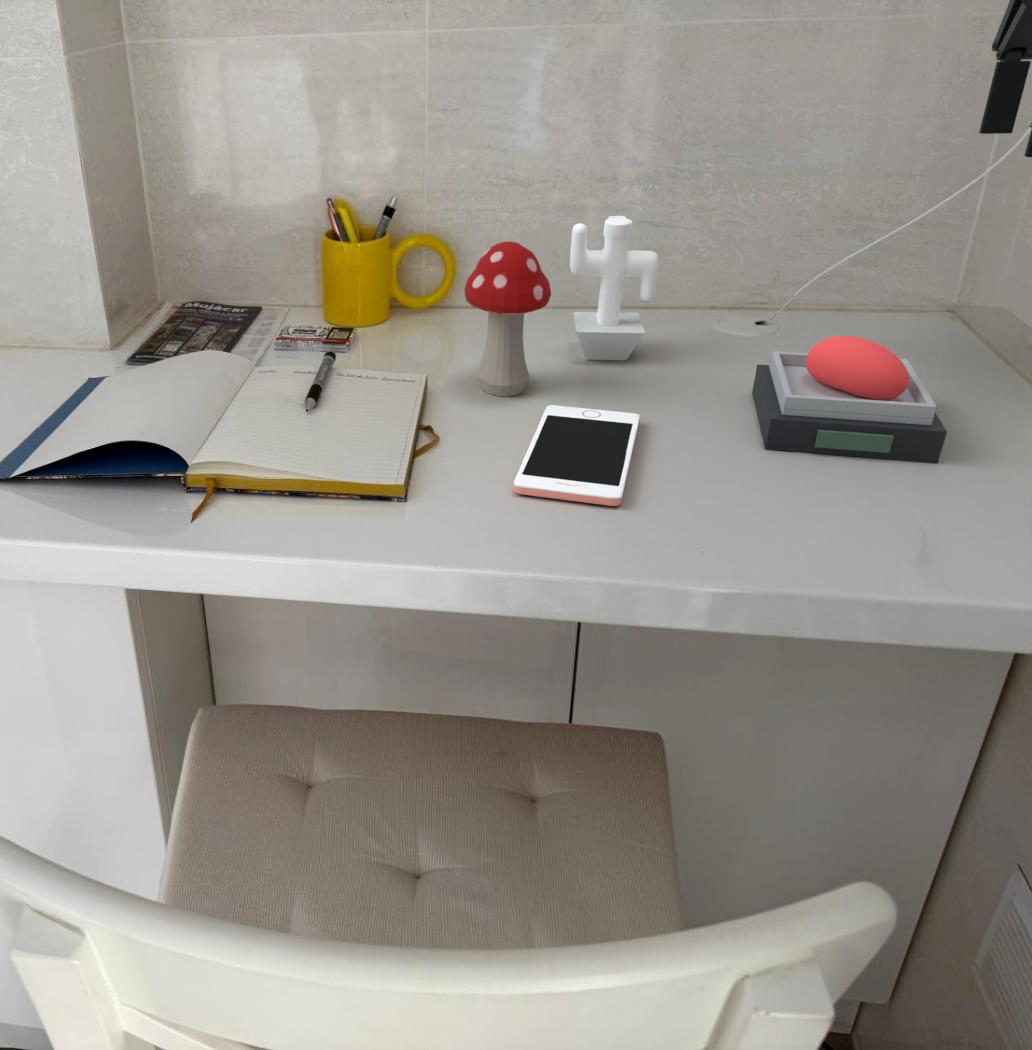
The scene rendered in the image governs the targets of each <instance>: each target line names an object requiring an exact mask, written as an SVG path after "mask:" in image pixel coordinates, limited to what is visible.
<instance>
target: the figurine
mask: <svg viewBox="0 0 1032 1050" xmlns="http://www.w3.org/2000/svg"><path fill="white" fill-rule="evenodd" d="M603 224H604V225H603V237H604V242H603V247H602V248H601V249H595V250H594V249H593V250H592V249H588V243H587V242H588V227H587V225H586V224H585V223H576V224H574V225H573V227H572V229H571V239H570V250H569V252H570V253H569V269H570V271H571V273H572V275H574V276H576V277H598V278H600V282H599V284H600V285H599V293H598V301H597V311H572V315H573V321H574V325H575V333H576V335H577V337H578V341H579V344H580V346H581V349H582V352H583V355H584V358H585V360H586V361H627V360H628V359H629V358H630V355H631V354H632V353H633V351H634V350H635V348H636V347H637V345H638V344H639V343H640V341H641V340H642V339H643V338H644V335H645V334H646V332H645V328H644V327H643V324H642V321H641V318H640V315H639V313H638V312H621V309H622V301H623V291H624V284H625V283H624V282H625V278H627V277H629V278H630V277H631V278H640V288H639V298H640V300H641V301H643V302H649V303H650V302H652V301H654V299H655V297H656V294H657V293H656V292H657V286H658V285H657V284H658V279H659V268H660V260H659V259H660V258H659V256H658V255H659V254H657V252H655V251H653V250H642V249H641V250H640V249H639V250H633V249H631V250H630V249H628V246H629V239H630V237H631V236H632V229H633V220H632V219H630V218H627V216H624V215H609V216H608V217H607V218H606V219H605V220H604V223H603Z"/></svg>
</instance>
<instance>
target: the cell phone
mask: <svg viewBox="0 0 1032 1050" xmlns="http://www.w3.org/2000/svg"><path fill="white" fill-rule="evenodd" d="M640 419H641V415H640V414H639V413H635V412H628V411H627V412H626V411H618V410H617V411H616V410H606V409H605V410H604V409H596V408H587V407H583V408H582V407H576V406H565V405H557V404H556V405H554V404H550V405H547V406H546V408H545V409H544V412H543V414H542V417H541V418H540V421H539V423H538V426H537V427H536V430H535V432H534V434H533V436H532V439H531V442H530V444H529V446H528V448H527V451H526V453H525V455H524V457H523V460H522V462H521V463H520V467H519V469H518V471H517V474H516V476H515V478H514V481H513V486H512V487H513V488H512V489H513V492H514V493H515V494H518V495H523V496H531V497H539V498H548V499H555V500H562V501H571V502H578V503H585V504H586V503H587V504H594V505H603V506H608V507H609V506H610V507H617V506H620V505H621V503H622V501H623V495H624V491H625V487H626V484H627V483H626V482H627V478H628V474H629V470H630V466H631V461H632V456H633V452H634V448H635V444H636V439H637V433H638V429H639V424H640Z"/></svg>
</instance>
